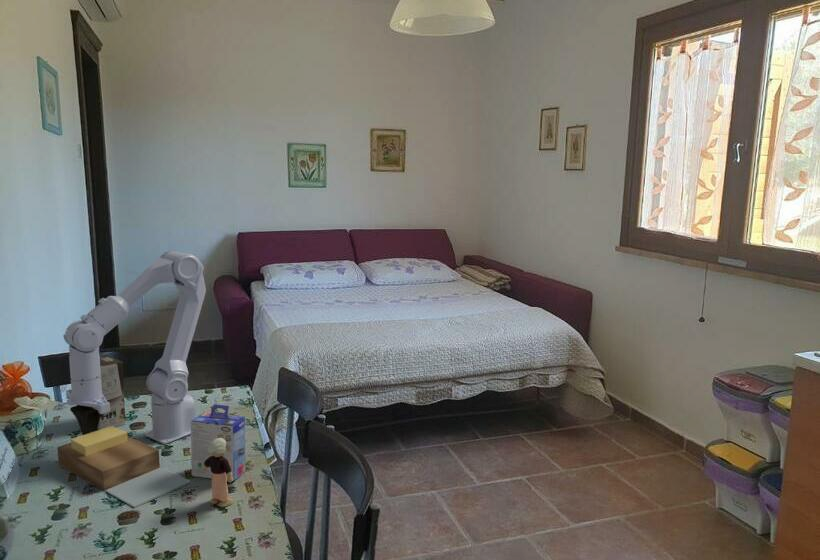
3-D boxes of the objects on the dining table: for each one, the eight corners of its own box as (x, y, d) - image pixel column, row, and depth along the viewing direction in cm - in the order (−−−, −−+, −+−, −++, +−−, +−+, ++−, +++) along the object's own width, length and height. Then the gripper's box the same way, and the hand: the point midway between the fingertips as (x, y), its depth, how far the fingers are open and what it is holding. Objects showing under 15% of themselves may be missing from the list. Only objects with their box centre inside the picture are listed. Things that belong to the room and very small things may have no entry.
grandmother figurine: (242, 500, 115) (241, 437, 113) (230, 510, 111) (228, 446, 109) (209, 492, 117) (207, 431, 115) (196, 502, 114) (194, 439, 112)
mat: (161, 468, 127) (161, 467, 127) (190, 482, 121) (190, 481, 121) (105, 491, 117) (105, 490, 117) (134, 508, 111) (134, 506, 111)
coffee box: (127, 423, 149) (123, 361, 146) (100, 431, 144) (95, 367, 142) (111, 414, 155) (108, 354, 152) (85, 421, 150) (80, 359, 148)
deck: (113, 445, 137) (112, 428, 136) (159, 467, 127) (158, 450, 126) (58, 464, 127) (57, 447, 126) (104, 490, 117) (102, 471, 116)
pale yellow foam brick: (112, 434, 133) (112, 425, 133) (127, 441, 130) (127, 432, 130) (71, 448, 126) (70, 439, 126) (85, 456, 123) (85, 446, 122)
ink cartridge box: (247, 470, 127) (246, 405, 125) (234, 482, 121) (233, 415, 119) (205, 464, 129) (202, 400, 126) (190, 477, 123) (188, 410, 121)
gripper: (49, 374, 129) (54, 434, 131) (84, 389, 121) (88, 452, 123) (83, 367, 135) (86, 424, 137) (118, 380, 126) (121, 440, 129)
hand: (89, 436), depth 130 cm, fingers closed
